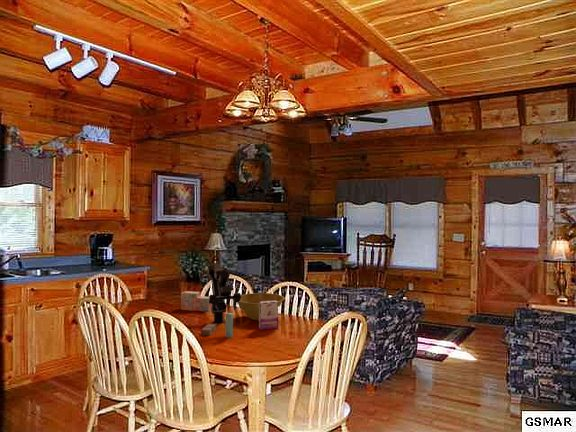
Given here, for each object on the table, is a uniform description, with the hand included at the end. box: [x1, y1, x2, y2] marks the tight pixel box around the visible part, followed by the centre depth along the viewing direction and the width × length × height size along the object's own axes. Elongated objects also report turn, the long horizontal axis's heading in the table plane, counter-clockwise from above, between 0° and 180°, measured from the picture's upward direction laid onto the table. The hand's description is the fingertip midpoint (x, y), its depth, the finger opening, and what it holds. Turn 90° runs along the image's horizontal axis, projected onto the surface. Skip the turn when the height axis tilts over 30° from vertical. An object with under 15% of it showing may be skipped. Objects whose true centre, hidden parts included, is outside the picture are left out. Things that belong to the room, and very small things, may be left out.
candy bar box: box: [258, 300, 279, 331], centre depth 276 cm, size 11×5×16 cm, turn 105°
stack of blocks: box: [180, 290, 212, 313], centre depth 324 cm, size 21×6×12 cm, turn 73°
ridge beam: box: [200, 323, 218, 337], centre depth 268 cm, size 14×5×3 cm, turn 172°
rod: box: [225, 312, 234, 339], centre depth 259 cm, size 4×4×13 cm
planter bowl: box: [237, 292, 285, 321], centre depth 301 cm, size 32×32×13 cm
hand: (226, 310), depth 266 cm, fingers open, 9 cm apart
